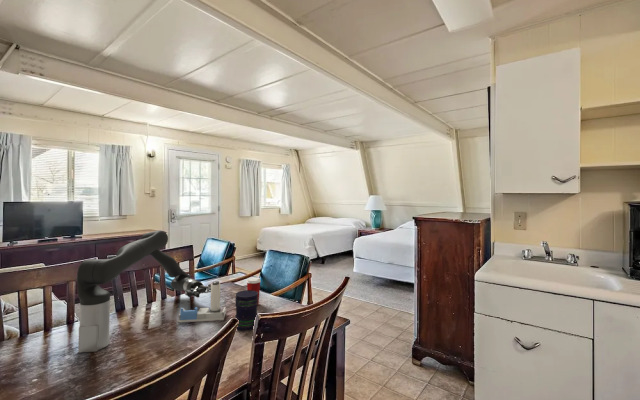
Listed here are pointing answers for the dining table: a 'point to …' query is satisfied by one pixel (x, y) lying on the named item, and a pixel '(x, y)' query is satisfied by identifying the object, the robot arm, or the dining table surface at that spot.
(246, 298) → the storage jar
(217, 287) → the off-white tall block
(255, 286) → the paper cup
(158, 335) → the dining table surface
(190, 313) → the grey blue holder base
